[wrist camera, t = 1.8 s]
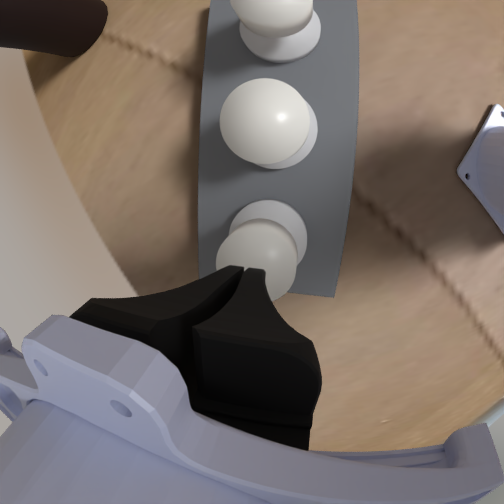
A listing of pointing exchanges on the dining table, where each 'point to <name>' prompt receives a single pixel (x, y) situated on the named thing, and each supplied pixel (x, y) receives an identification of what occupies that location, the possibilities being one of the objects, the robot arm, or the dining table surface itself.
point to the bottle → (51, 25)
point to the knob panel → (301, 163)
